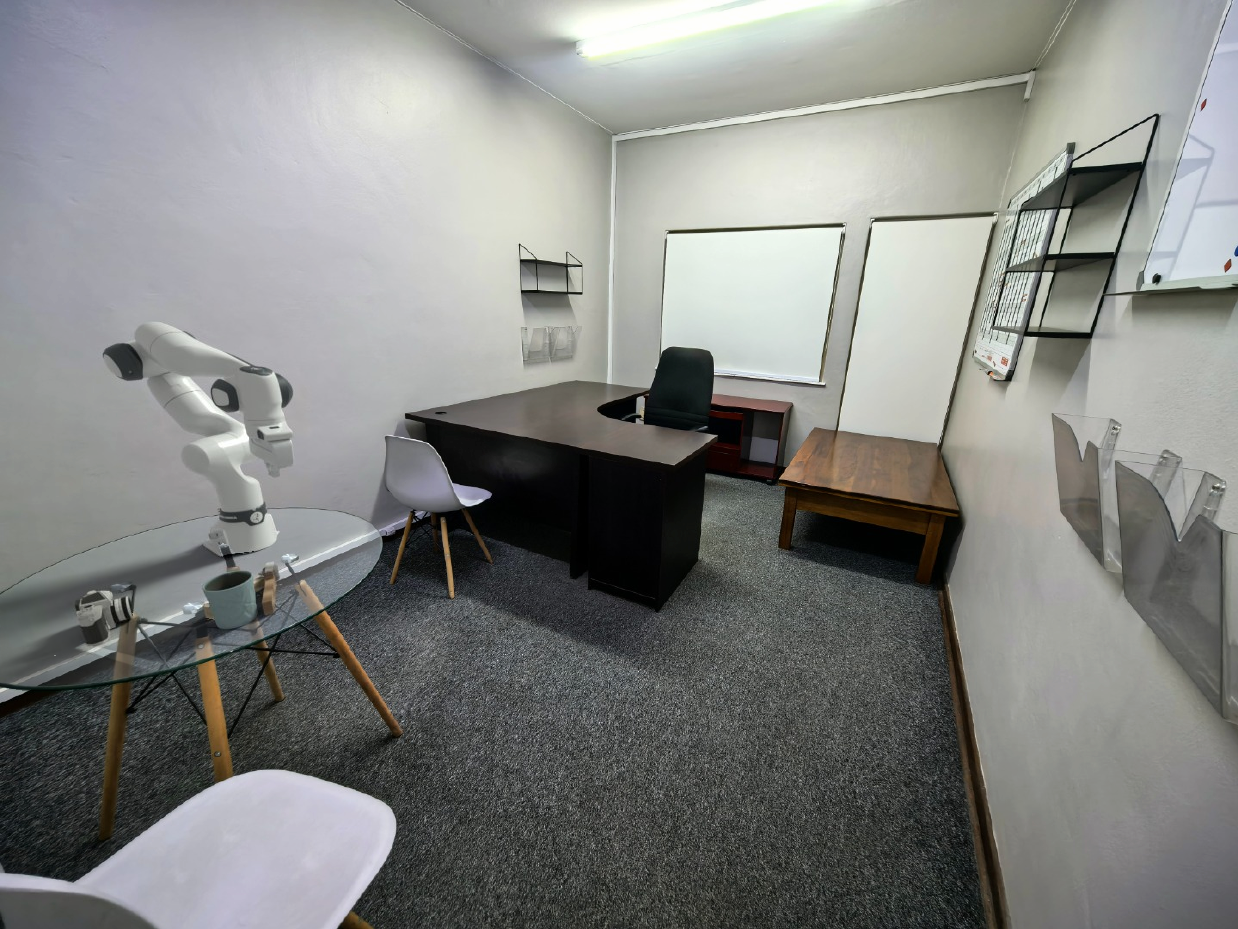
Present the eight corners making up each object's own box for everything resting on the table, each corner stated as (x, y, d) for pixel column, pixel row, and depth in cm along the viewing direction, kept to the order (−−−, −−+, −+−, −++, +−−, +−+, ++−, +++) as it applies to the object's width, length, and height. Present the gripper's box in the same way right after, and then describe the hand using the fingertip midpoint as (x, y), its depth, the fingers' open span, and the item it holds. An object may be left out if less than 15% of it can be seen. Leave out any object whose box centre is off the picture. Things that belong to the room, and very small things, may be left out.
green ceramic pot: (256, 604, 128) (247, 566, 124) (266, 619, 121) (257, 580, 118) (209, 620, 120) (198, 580, 117) (216, 637, 114) (205, 595, 110)
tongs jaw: (269, 581, 138) (265, 562, 136) (277, 579, 139) (274, 561, 137) (264, 615, 122) (260, 595, 120) (274, 613, 123) (269, 593, 121)
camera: (134, 634, 114) (122, 600, 111) (82, 650, 108) (68, 614, 105) (135, 607, 125) (124, 574, 122) (87, 620, 119) (75, 586, 116)
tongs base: (274, 580, 139) (271, 564, 138) (283, 582, 138) (280, 565, 137) (203, 618, 121) (199, 600, 119) (214, 620, 120) (209, 602, 118)
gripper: (237, 422, 126) (246, 470, 130) (267, 436, 115) (276, 487, 119) (264, 419, 131) (272, 465, 135) (295, 432, 120) (303, 481, 124)
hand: (274, 476), depth 127 cm, fingers closed
